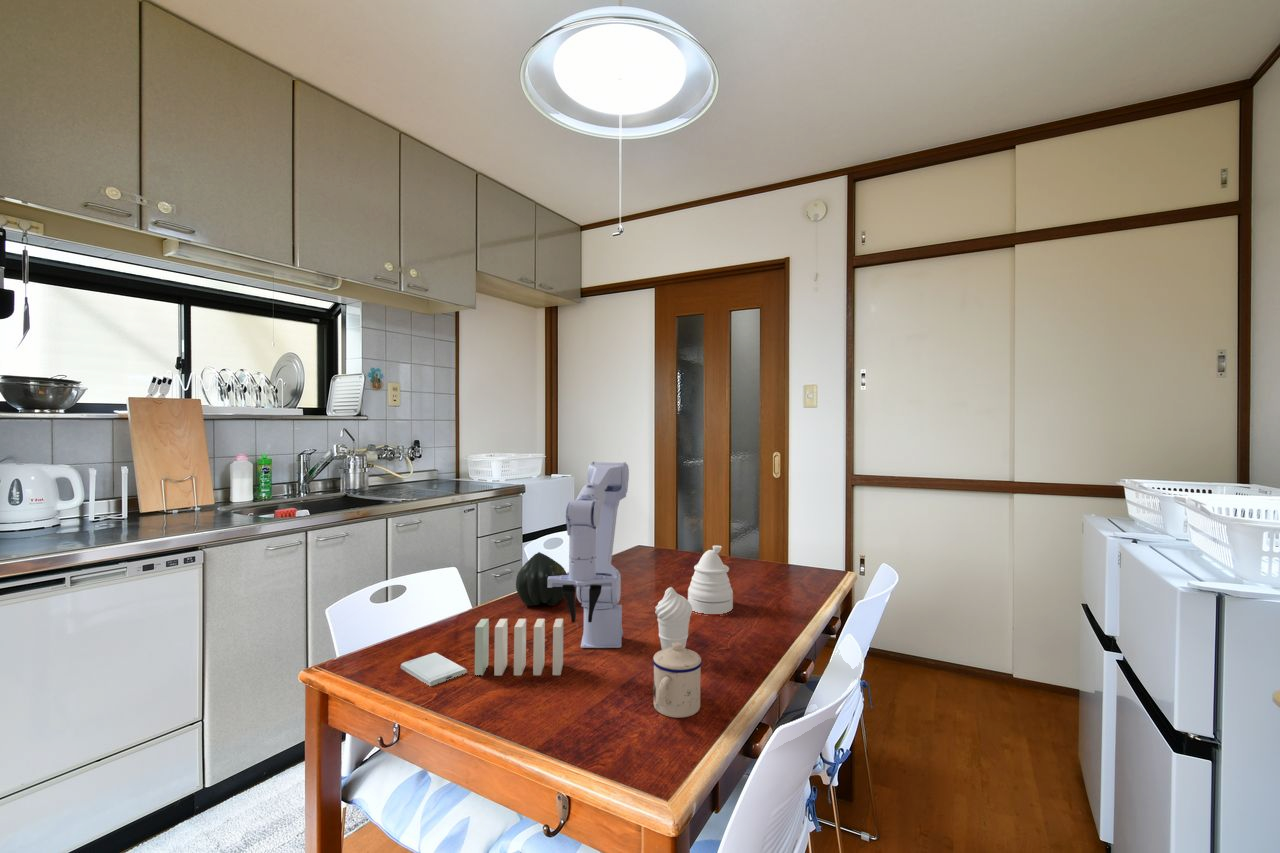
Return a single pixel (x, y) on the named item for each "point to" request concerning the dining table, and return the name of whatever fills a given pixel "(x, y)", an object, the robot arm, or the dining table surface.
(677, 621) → the soft serve ice cream cone
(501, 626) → the domino
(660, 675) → the teacup with lid
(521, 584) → the squash
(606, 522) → the robot arm
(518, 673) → the domino
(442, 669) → the hard drive
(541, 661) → the domino
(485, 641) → the domino
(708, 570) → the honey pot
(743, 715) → the dining table surface
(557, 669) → the domino
